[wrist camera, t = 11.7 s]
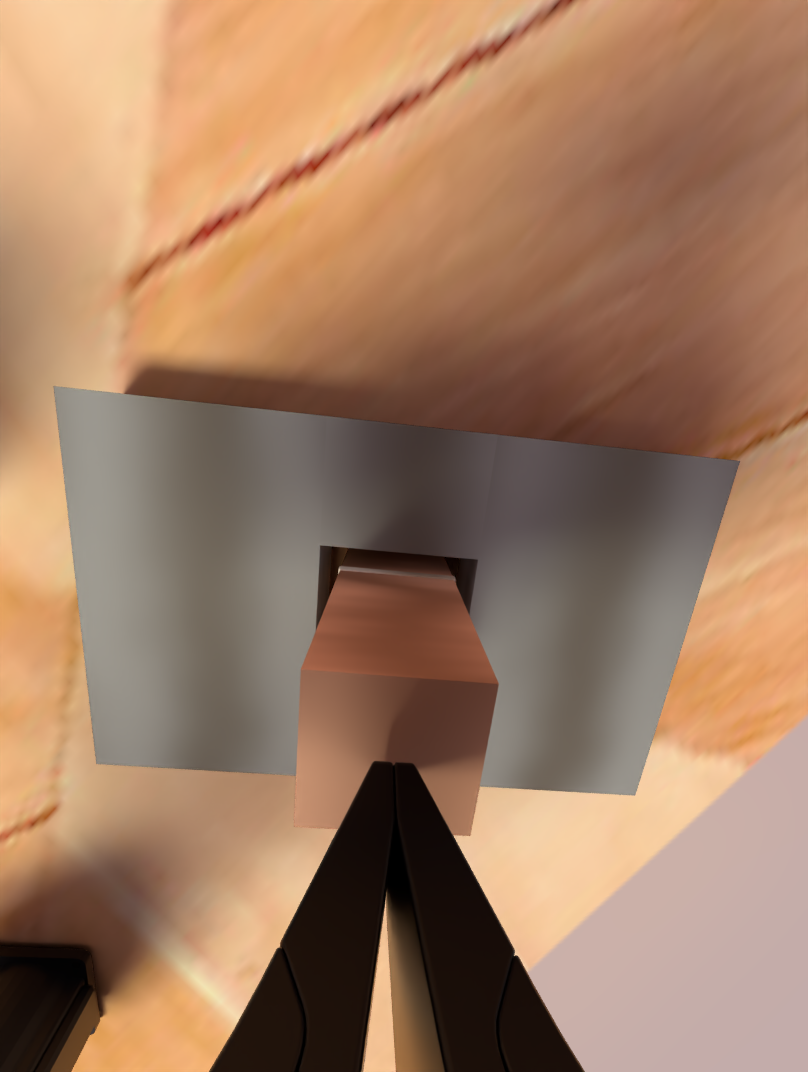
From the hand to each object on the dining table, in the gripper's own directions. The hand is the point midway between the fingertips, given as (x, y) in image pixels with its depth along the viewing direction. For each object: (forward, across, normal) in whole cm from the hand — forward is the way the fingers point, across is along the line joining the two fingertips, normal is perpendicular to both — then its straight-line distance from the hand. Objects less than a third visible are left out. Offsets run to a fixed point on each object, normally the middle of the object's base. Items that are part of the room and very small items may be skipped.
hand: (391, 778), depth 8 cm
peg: (+10, 0, 0) cm, 10 cm away
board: (+10, 0, 0) cm, 10 cm away
